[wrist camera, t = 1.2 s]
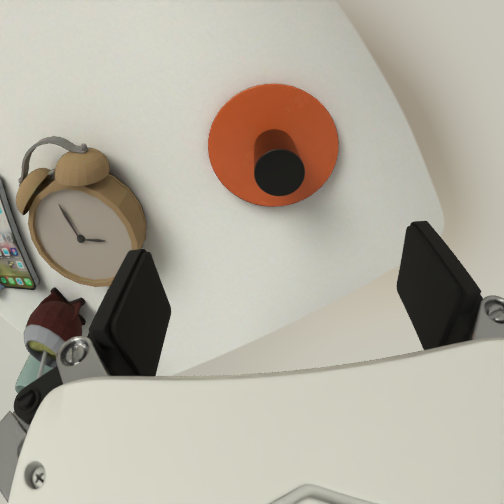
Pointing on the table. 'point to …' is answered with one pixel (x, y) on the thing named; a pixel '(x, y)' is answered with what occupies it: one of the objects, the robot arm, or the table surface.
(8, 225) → the smartphone
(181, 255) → the table surface
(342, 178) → the table surface
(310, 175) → the lid
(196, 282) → the table surface
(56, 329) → the mate gourd
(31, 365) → the cup
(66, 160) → the alarm clock
